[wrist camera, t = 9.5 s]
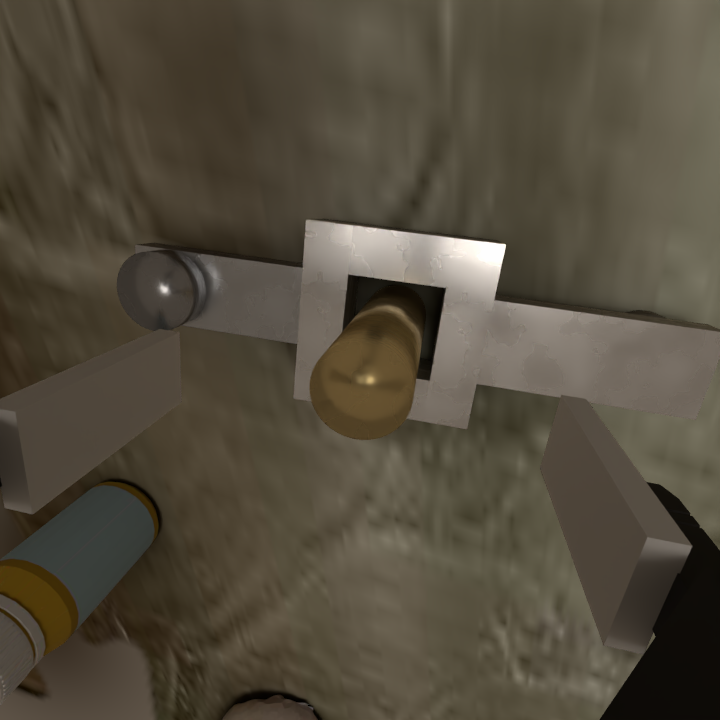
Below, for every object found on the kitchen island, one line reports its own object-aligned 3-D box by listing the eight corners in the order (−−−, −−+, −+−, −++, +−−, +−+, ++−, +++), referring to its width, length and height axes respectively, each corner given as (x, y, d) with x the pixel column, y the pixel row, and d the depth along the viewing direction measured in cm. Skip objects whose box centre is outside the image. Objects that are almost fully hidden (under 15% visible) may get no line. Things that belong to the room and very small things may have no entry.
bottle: (175, 509, 39) (23, 677, 25) (143, 558, 41) (-12, 738, 27) (107, 462, 38) (-87, 606, 24) (79, 515, 41) (-112, 674, 27)
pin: (370, 280, 30) (313, 333, 17) (430, 289, 29) (421, 350, 16) (363, 338, 31) (305, 429, 18) (421, 348, 31) (405, 448, 18)
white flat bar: (151, 197, 31) (111, 195, 27) (707, 266, 26) (752, 275, 23) (157, 351, 34) (122, 368, 31) (647, 434, 30) (677, 466, 26)
